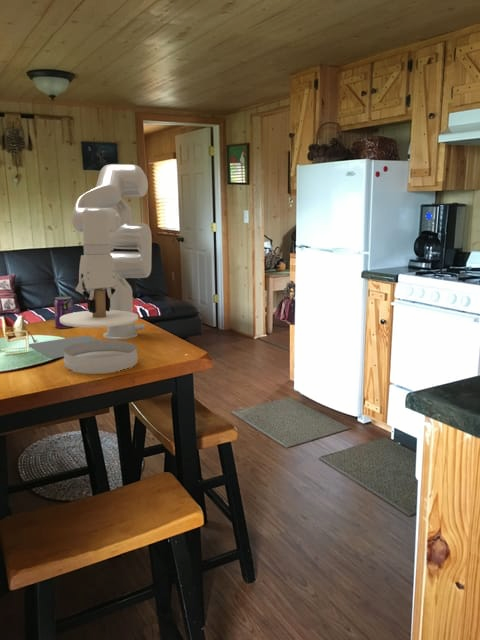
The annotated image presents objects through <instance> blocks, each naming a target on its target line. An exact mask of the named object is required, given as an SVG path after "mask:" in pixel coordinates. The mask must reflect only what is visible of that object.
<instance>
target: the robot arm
mask: <svg viewBox="0 0 480 640" xmlns="http://www.w3.org/2000/svg"><path fill="white" fill-rule="evenodd" d="M148 181H149V180H148V178H147V175H146V174H145V172H144V170H143V169H142V168H141V167H140V166H139V165H137V164H132V163H131V164H129V163H128V164H127V163H126V164H124V163H123V164H122V163H121V164H120V163H110V164H106V165H104V166H103V167H102V168H101V169H100V171H99V174H98V177H97V181H96V185H95V187H94V188H92V189H90V190H88V191H86V192H84V193H83V194H81V195H80V196H79V197H78V198H77V199H76V202H75V205H74V207H73V211H72V215H71V223H72V227H73V228H74V230H75V231H76V232H78V233H79V232H80V233H82V238H83V255H82V254H81V255H80V261H79V270H78V272H79V273H78V283H77V286H76V287H75V292H78V293H80V294H81V295H82V296H83V297H84V298H85V299H86V303H87V304H86V305H87V311H89V312H91V313H95V312H96V311H95V300H94V299H93V296H94V290H105V297H106V311H110V310H119V311H128V312H133V313H134V311H133V310H134V309H133V308H134V307H133V305H134V304H133V302H134V301H133V289H132V286H131V284H129V282H128V281H127V280H126V279H144V278H148V277H149V276H150V275H151V272H152V250H153V249H152V244H153V243H152V240H153V238H152V230H151V228H150V226H149V224H148V223H143V222H132V209H131V207H130V206H129V205H128V204H127V202H126V201H125V200H124V199H123V198H122V197H125V198H127V197H128V198H129V197H130V198H131V197H133V198H134V197H137V198H142V197H144V196H146V195H147V192H148V189H149V182H148ZM114 249H116V250H117V249H120V251H119V250H118V251H114ZM121 250H138V251H121ZM85 289H86V290H85ZM145 329H146V326H145V323H143V324H136V323H134V322H133V323H130V324H126V325H120V326H112V327H106V331H105V332H104V333H103V334H102V337H103V338H104V339H106V340H129V339H133V338H136V337H137V336H138V331H139V330H145Z"/></svg>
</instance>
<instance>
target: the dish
mask: <svg viewBox="0 0 480 640" xmlns="http://www.w3.org/2000/svg"><path fill="white" fill-rule="evenodd" d="M110 348H111V349H110ZM137 348H138V347H137V345H136V344H135V343H132V342H129V341H125V340H117V339H105V340H104V339H103V340H101V339H98V341H88V342H82V343H77V344H73V345H71V346H68V347H67V348H65V349H64V357H63V365H64V367H65V368H67V369H69V370H68V371H70V372H72V373H79V374H86V375H87V374H88V375H89V374H90V375H91V374H111V373H116V371H118V372H121V371H120V370H123V369H126V368H129V367H131V368H133V367H132V366H133V365H135V364H136V363H137V364H138V361H137V360H138V354H137V351H138V350H137ZM137 364H136V365H137ZM136 365H135V366H136ZM129 369H130V368H129ZM126 370H127V369H126ZM123 371H124V370H123Z"/></svg>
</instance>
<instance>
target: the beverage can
mask: <svg viewBox="0 0 480 640" xmlns="http://www.w3.org/2000/svg"><path fill="white" fill-rule="evenodd" d="M54 299H55V300H54V302H53V304H54V305H53V306H54V326H55V327H56V328H59V329H70V328H72V327H73V326H67V325H63V324H61V323H60V317H61V316H63V315H66V314H70V313H74V302H73V300H72V296H57V297H54Z"/></svg>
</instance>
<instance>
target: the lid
mask: <svg viewBox="0 0 480 640" xmlns="http://www.w3.org/2000/svg"><path fill="white" fill-rule="evenodd" d="M93 299H94V300H95V311H96V312H95V313H91V312H89V310H85V311H84V310H83V311H76V312H74V311H73V313H70V314H66V315H63V316H61V317H60V323H61V324H63V325H67V326H72V327H74V328H89V329H90V328H95V329H96V328H107V327H112V326H120V325H126V324H130V323H133V324H134V323H135V322H137V321H138V320H139V315H138V314H137V313H136V312H134V311H133V312H128V311H119V310H110V311H106V297H105V290H103V289H94V296H93Z"/></svg>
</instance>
